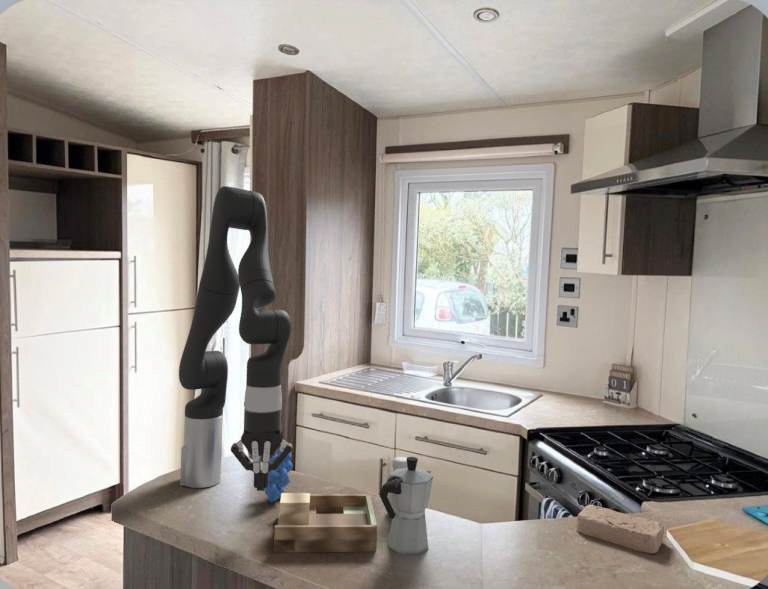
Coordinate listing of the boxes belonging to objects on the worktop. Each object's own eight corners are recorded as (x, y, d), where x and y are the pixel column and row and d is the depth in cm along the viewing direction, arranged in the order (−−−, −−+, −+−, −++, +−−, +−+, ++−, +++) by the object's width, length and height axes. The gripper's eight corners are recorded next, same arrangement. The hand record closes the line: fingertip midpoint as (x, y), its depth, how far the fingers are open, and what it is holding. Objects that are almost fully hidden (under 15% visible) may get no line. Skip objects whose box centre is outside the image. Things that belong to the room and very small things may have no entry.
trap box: (273, 552, 108) (274, 527, 108) (279, 516, 124) (280, 494, 124) (376, 551, 111) (377, 526, 110) (368, 515, 127) (370, 494, 126)
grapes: (272, 487, 140) (274, 440, 140) (297, 491, 139) (299, 443, 138) (249, 505, 129) (251, 454, 129) (276, 509, 127) (278, 458, 127)
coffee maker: (413, 527, 122) (417, 446, 121) (444, 543, 115) (448, 457, 115) (362, 549, 111) (366, 460, 110) (394, 567, 105) (398, 473, 104)
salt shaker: (381, 515, 127) (384, 459, 127) (393, 506, 132) (395, 452, 132) (404, 521, 124) (407, 464, 124) (415, 512, 130) (418, 457, 129)
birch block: (279, 526, 114) (280, 502, 114) (280, 516, 119) (281, 492, 119) (308, 526, 114) (309, 502, 114) (309, 515, 119) (310, 493, 119)
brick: (574, 532, 124) (576, 512, 123) (586, 520, 130) (587, 500, 130) (656, 559, 114) (657, 536, 114) (663, 544, 121) (665, 522, 120)
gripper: (296, 402, 119) (293, 482, 120) (233, 401, 118) (230, 483, 118) (294, 411, 112) (292, 496, 112) (227, 410, 110) (224, 497, 111)
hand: (260, 489), depth 115 cm, fingers closed
